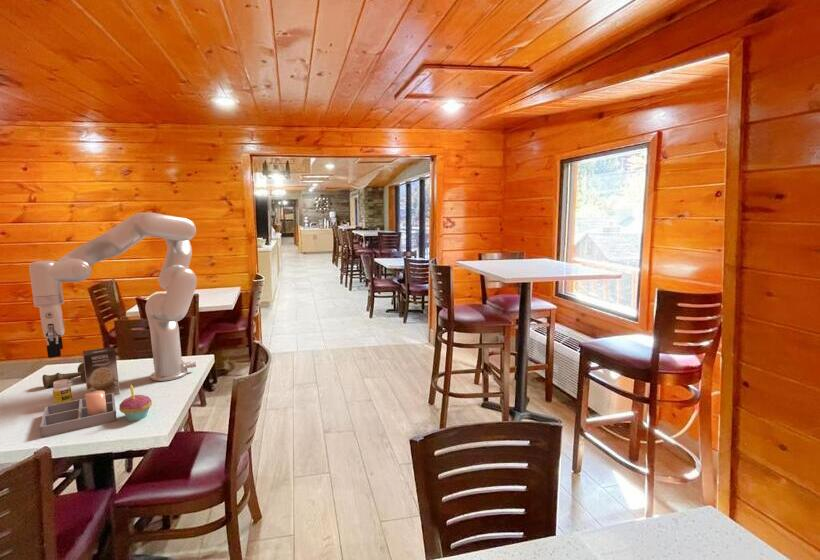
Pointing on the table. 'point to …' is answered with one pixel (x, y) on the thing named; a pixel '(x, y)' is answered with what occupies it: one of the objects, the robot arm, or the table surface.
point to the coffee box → (101, 370)
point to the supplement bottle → (62, 391)
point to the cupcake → (135, 406)
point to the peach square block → (96, 403)
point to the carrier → (74, 416)
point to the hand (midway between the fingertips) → (55, 353)
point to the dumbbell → (64, 376)
